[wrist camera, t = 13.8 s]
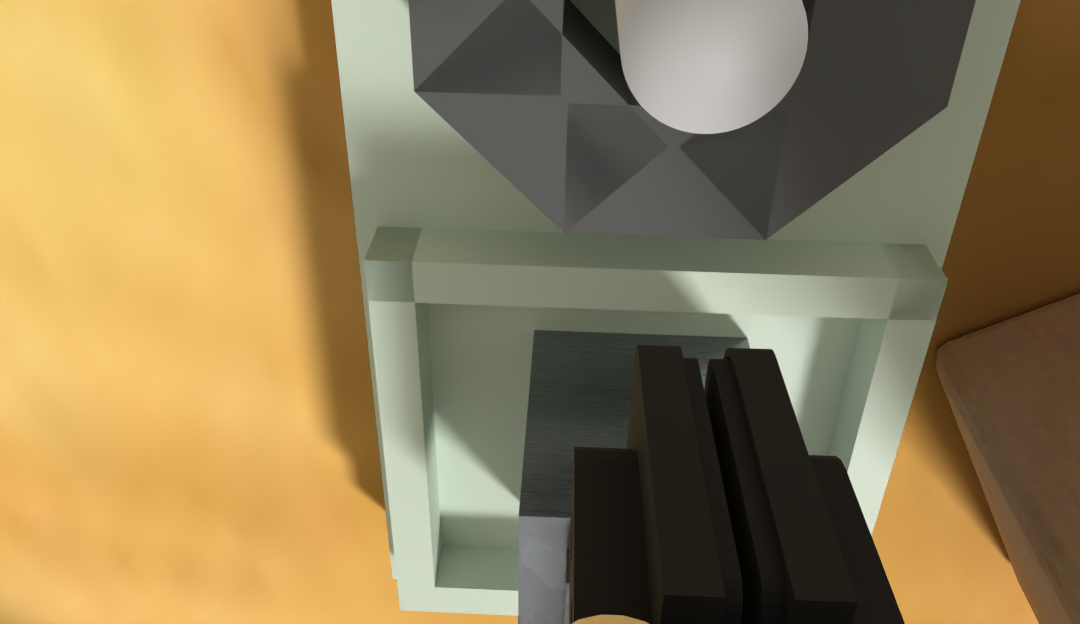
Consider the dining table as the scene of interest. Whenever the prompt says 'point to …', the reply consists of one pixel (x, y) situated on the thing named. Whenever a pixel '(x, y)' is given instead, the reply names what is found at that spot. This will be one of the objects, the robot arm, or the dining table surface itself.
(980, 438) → the wooden block
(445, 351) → the chassis
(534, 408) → the block
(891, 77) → the faceted grey bowl
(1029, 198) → the dining table surface
